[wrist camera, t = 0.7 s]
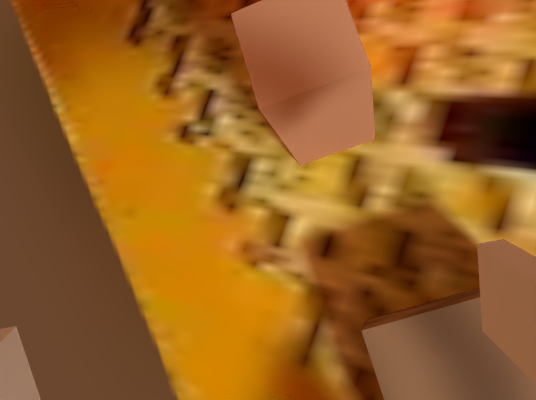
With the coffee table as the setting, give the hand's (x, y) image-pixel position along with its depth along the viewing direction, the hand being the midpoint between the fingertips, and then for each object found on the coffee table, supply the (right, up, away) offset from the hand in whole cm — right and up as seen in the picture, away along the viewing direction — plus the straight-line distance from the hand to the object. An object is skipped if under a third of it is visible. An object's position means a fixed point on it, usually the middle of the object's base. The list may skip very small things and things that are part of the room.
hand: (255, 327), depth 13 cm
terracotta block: (+5, +10, +22) cm, 25 cm away
